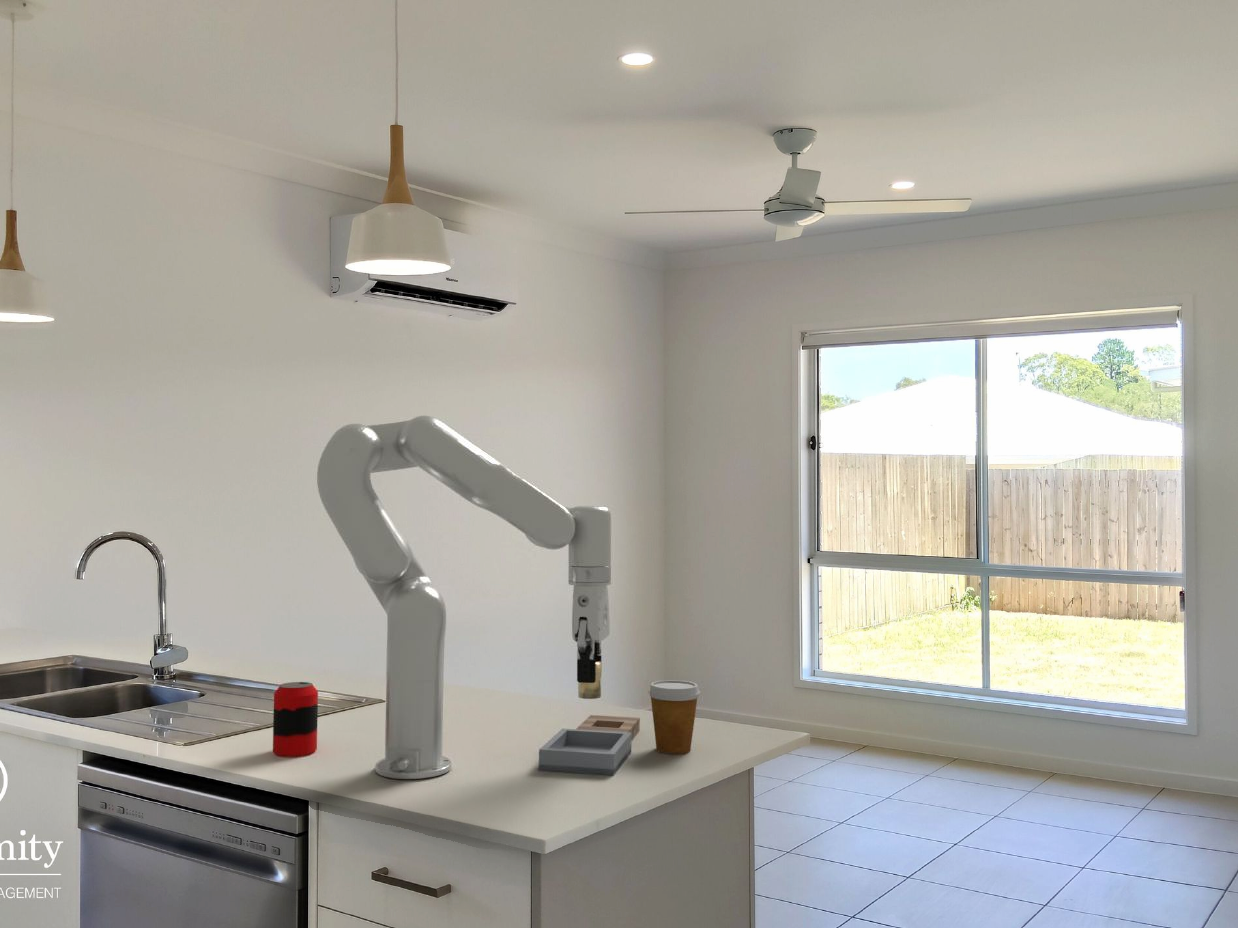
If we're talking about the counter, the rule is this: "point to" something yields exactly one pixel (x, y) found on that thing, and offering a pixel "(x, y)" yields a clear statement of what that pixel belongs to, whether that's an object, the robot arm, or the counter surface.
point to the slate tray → (585, 751)
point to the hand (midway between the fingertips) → (589, 678)
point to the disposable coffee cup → (673, 714)
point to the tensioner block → (611, 724)
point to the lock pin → (591, 686)
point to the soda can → (295, 719)
